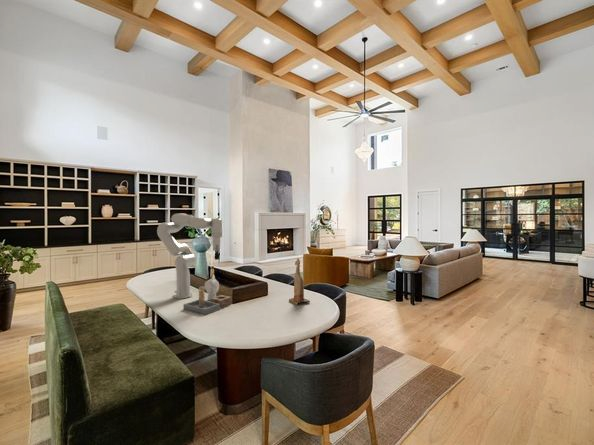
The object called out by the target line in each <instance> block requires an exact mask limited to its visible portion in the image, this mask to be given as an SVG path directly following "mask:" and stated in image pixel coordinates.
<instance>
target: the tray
mask: <svg viewBox="0 0 594 445" xmlns="http://www.w3.org/2000/svg"><path fill="white" fill-rule="evenodd" d="M219 310H221V308H220V304H218V303H213V302H211V301H210V300H205V308H199V299H196V300H193V301H191V302H187V303H184V304H183V311H187V312H192V313H196V314H199V315H203V316H206V315H208V314H211V313H214V312H216V311H219Z"/></svg>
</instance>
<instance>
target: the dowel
mask: <svg viewBox="0 0 594 445" xmlns="http://www.w3.org/2000/svg"><path fill="white" fill-rule="evenodd" d="M205 291H206V289H205V286H199V287H198V300H199V308H205V301H206V300H205V299H206V297H205V296H206V295H205Z"/></svg>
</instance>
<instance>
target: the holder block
mask: <svg viewBox="0 0 594 445" xmlns="http://www.w3.org/2000/svg"><path fill="white" fill-rule="evenodd" d="M232 301H233V299H232V296H228V295H224V294H223V295H222V294H219V295H216V297H214V298H211V301H210V302H213V303H218V304H220V309H223V308H225V307H227V306H231V305H232V304H233V302H232Z"/></svg>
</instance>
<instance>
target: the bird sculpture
mask: <svg viewBox="0 0 594 445" xmlns="http://www.w3.org/2000/svg"><path fill="white" fill-rule="evenodd" d="M294 265H295V266H296V268H295V274H294V281H293V298H289V299H288V303H290V304H292V305H295V306H296V307H297V305H298V304H299V303H302V302H307V303H309V304H310V302H311V301H310V300H309V299H306V298H305V291H304V290H305V289H304V288H305V285H304V284H305V283H304V279H303V277H302V276H301V271H300V266H301V261H300V258H298V257H297V259H296V260H295V262H294Z"/></svg>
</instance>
